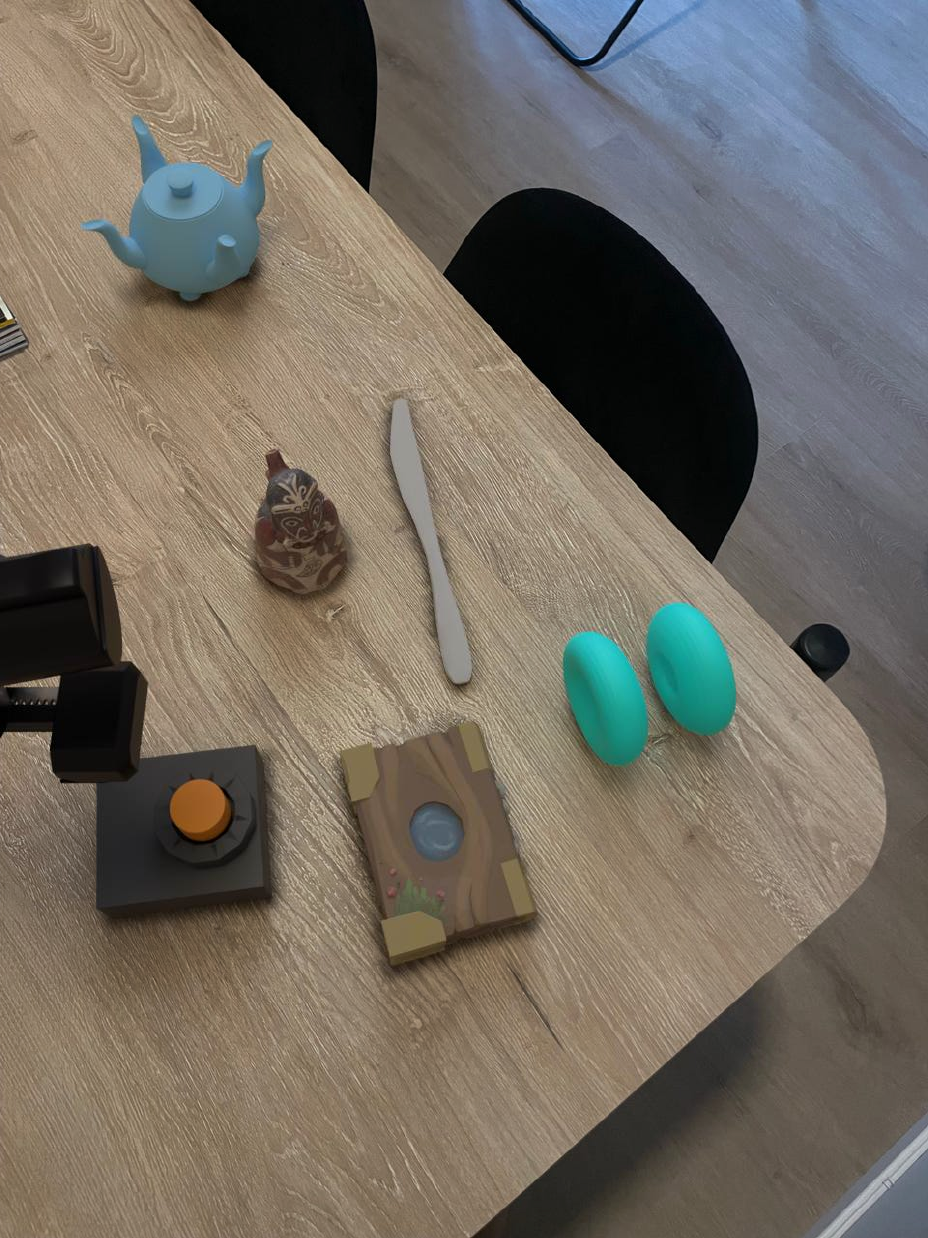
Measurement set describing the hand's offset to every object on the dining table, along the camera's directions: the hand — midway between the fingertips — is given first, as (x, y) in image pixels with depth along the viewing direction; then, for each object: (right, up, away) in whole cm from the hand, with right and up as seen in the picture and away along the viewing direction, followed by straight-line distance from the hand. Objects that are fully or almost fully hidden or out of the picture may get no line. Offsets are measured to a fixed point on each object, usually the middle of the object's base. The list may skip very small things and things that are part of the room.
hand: (13, 767), depth 65 cm
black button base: (+7, -7, +13) cm, 16 cm away
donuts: (+40, +2, +18) cm, 44 cm away
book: (+25, -7, +13) cm, 29 cm away
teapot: (+3, +42, +35) cm, 54 cm away
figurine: (+14, +14, +23) cm, 30 cm away
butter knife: (+24, +16, +24) cm, 37 cm away
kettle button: (+10, -4, +8) cm, 13 cm away
